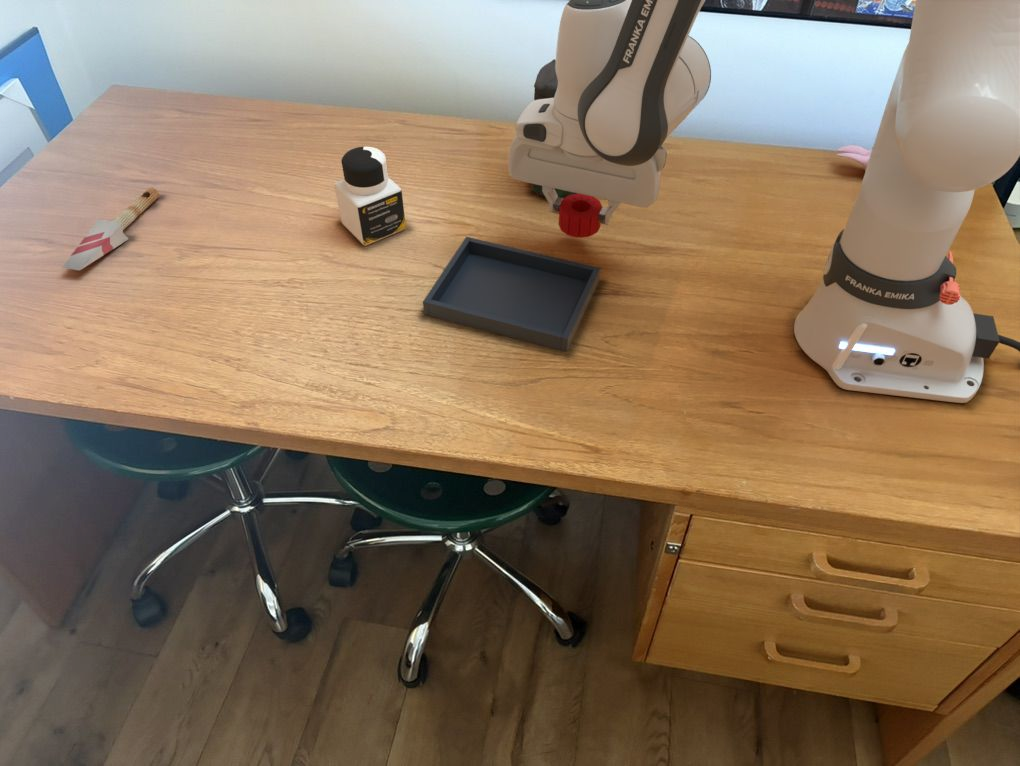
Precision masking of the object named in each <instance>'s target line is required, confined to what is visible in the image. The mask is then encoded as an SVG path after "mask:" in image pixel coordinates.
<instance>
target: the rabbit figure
mask: <svg viewBox="0 0 1020 766" xmlns="http://www.w3.org/2000/svg"><path fill="white" fill-rule="evenodd" d="M837 152H841V153H837V154H836V157H841V158H848V159H851V160H853V161H855V162H856V163H859V164H860V165H861V166H862V167H863V170H864V171H865V172H866V168H867V165H868V162H869V158H870V155H871V152H872V149H869V150H868V149H866V148H864V147H863V146H860V145H854V144H849V145H845V146H842V147H840V148H838V149H837Z"/></svg>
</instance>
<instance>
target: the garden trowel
mask: <svg viewBox="0 0 1020 766" xmlns="http://www.w3.org/2000/svg"><path fill="white" fill-rule="evenodd" d="M158 198H160V193H159V191H158V189H156V188H154V187H148V188H147V189H146V190H145V191H144V192H143V193H142V194H141V195H140V196H139V197H137V199H136V200H134V201H133V202H132V203H131V204H129V206H127V208H125V209H124V210H123V211H122V212H121V213H120V214H119V215H117V217H115V218H114V219H112V220H107V219H101V218H98V219H97V221H96V222H95V223H94V224H93V226H92V227H91V228H90V230H89V231H88V232H87V234H86V235H85V236H84V237H83V238H82V240H81V242H80V243H79V244H78V246H77V247H76V248H75V250H74V251H73V252H72V253H71V254H70V256H69V257H68V259H67V260H66V261H65V263H64V264H63V265H62V268H64V269H70V270H75V271H80V272H81V270H83V269H85V268H86V267H88V266H89V265H91V264H93V263H94V262H95V261H97V260H99V259H101V258H102V257H104V256H105V255H106V254H108V253H110V252H111V251H113V250H114V249H116V248H117V247H119V246H120V245H122V244H124V243H125V242H127V241H128V240H130V238H129V237H128V236H127V235H126V234H125V233H124V230H126V228H127V227H129V226H130V225H131V224H132V223H133V222H134V221H135V220H136V219H137V218H138V217H140V215H141V214H142V213H144V211H146V209H148V208H149V207H150V206H151V205H152V204H153V203H154V202H155V201H156V200H157V199H158Z"/></svg>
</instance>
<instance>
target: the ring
mask: <svg viewBox="0 0 1020 766" xmlns="http://www.w3.org/2000/svg"><path fill="white" fill-rule="evenodd" d="M602 207H603V205H602V203H601V201H600V200H599V198H597V197H592V196H588V195H583V194H578V193H577V194H572V195H569V196H567V197H565V198H563V200H562V201H561V204H560V208H559V214H558V227H559V229H560V231H561V232H563V233H564V234H565V235H566V236H569V237H573V238H577V239H578V238H580V239H581V238H589V237H592V236H594V235H596V234H597V233H598V232H599V230H600V228H601V223H598V220H599V213H600V211H601V209H602Z"/></svg>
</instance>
